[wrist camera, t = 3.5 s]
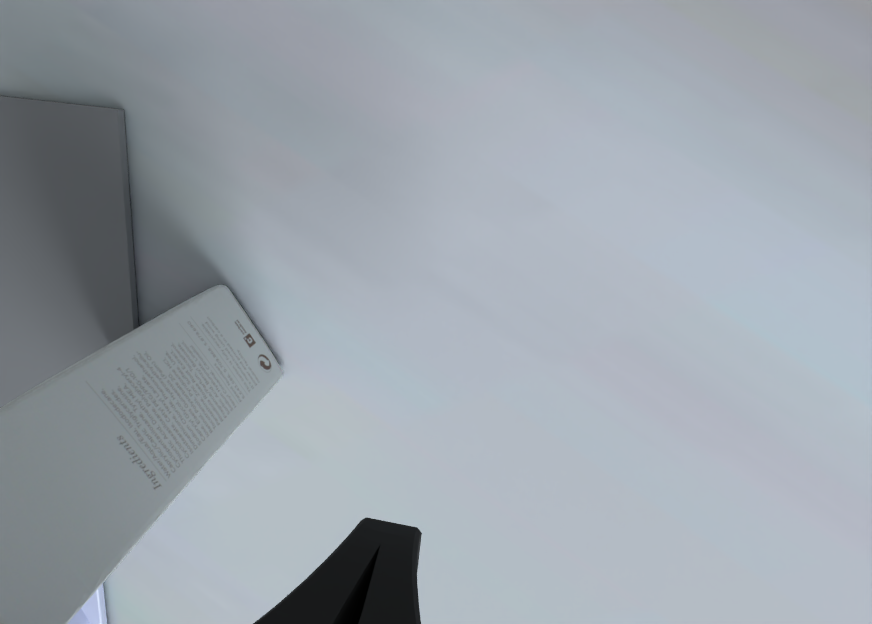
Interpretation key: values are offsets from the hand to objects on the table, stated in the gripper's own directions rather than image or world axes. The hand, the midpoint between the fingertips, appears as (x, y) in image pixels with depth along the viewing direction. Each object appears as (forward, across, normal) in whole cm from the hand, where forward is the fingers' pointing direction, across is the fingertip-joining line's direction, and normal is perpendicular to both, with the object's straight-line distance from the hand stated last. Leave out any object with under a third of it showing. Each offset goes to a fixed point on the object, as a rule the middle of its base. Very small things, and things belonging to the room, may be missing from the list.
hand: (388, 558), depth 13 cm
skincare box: (+8, +10, 0) cm, 12 cm away
